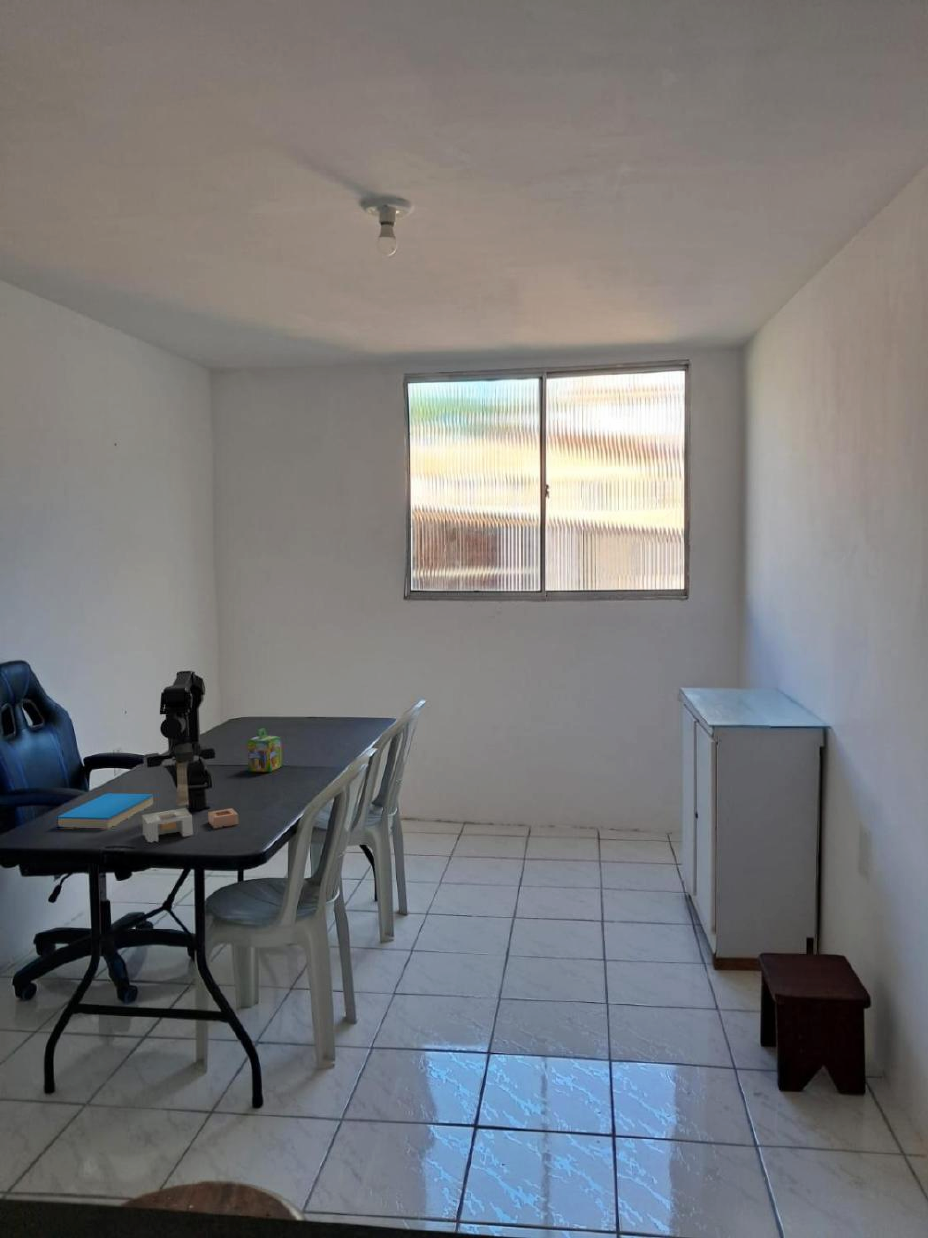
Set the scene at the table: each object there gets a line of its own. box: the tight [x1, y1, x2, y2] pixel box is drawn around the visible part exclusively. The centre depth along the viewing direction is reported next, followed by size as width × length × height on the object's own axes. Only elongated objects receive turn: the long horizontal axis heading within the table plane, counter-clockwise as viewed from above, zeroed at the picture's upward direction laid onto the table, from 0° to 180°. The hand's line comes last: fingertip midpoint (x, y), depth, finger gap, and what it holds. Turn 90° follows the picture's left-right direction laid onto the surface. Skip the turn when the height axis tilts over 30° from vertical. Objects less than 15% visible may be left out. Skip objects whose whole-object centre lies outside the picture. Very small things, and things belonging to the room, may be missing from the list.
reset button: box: [160, 822, 176, 830], centre depth 256 cm, size 4×4×2 cm
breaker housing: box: [141, 807, 194, 843], centre depth 257 cm, size 9×12×6 cm
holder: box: [207, 807, 239, 829], centre depth 266 cm, size 7×7×3 cm
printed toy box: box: [246, 727, 283, 773], centre depth 330 cm, size 9×9×15 cm
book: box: [56, 792, 154, 830], centre depth 278 cm, size 17×4×25 cm
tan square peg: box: [174, 761, 189, 807], centre depth 257 cm, size 3×3×12 cm
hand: (181, 786), depth 257 cm, fingers closed on tan square peg, 3 cm apart
